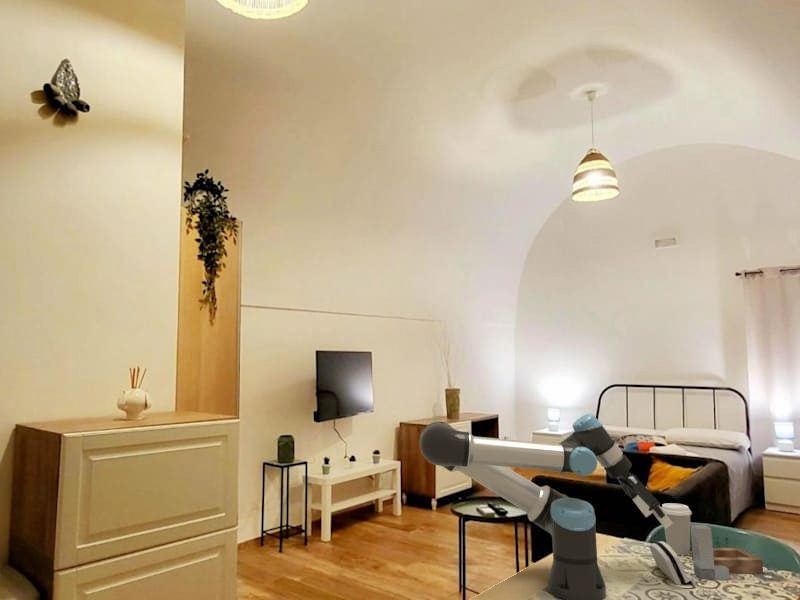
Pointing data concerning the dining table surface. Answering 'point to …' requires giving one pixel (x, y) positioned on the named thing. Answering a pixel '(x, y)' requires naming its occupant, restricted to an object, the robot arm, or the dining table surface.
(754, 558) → the frame
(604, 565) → the dining table surface
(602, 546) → the dining table surface
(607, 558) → the dining table surface
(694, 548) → the bracket
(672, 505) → the coffee cup
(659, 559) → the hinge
